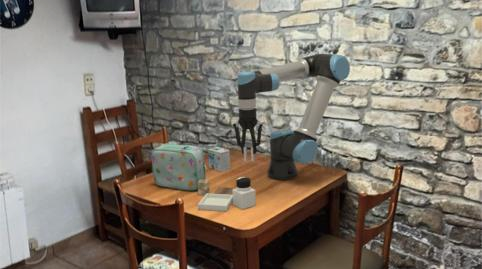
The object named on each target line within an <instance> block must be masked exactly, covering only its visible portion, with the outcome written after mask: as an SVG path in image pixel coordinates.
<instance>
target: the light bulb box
mask: <svg viewBox="0 0 482 269" xmlns="http://www.w3.org/2000/svg"><path fill="white" fill-rule="evenodd" d="M207 152H208V168H209V169H211V170H215V171H217V172H220V173H222V172H223V173H224V172H226V171H230V170H231V156H230V154H231V153H230V149H228V148H227V149H226V148H223V147H220V146H215V147H211V148H209V149H208V148H207Z"/></svg>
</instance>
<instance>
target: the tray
mask: <svg viewBox="0 0 482 269" xmlns="http://www.w3.org/2000/svg"><path fill="white" fill-rule="evenodd" d="M232 205H233V195H229V194H214V193H210V192H209V193H207V194H206V195H203V197H202V198H201V199H200V201H199V202H198V203H197V211H207V210H210V211H211V210H212V211H211V212H228V211H229V209H230V208H231V206H232Z"/></svg>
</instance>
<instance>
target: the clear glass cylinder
mask: <svg viewBox="0 0 482 269" xmlns="http://www.w3.org/2000/svg"><path fill="white" fill-rule="evenodd" d="M197 191H198V192H197V193H198V196H205V195H206V194H207V193H209V194H210V180H209V179H205V180H200V181H199V182H198V189H197Z"/></svg>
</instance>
